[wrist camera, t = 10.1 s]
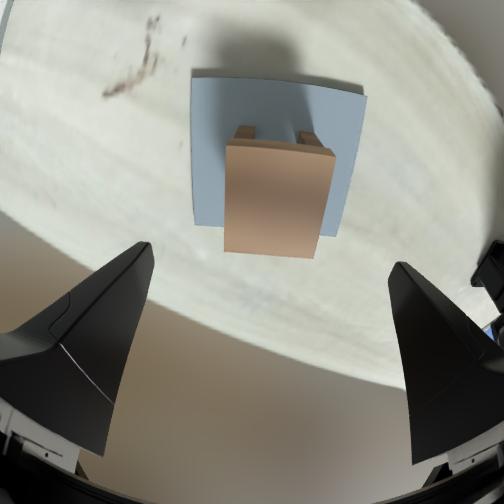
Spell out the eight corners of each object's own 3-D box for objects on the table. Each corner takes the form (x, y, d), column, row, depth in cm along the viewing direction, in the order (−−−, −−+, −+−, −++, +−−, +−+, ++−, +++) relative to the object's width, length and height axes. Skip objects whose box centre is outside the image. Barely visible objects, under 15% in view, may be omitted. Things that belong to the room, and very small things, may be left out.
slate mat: (364, 95, 14) (367, 96, 14) (334, 232, 21) (336, 236, 21) (194, 77, 14) (191, 78, 14) (196, 221, 21) (194, 225, 21)
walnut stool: (303, 210, 20) (313, 258, 15) (234, 204, 20) (224, 251, 15) (316, 130, 16) (336, 156, 12) (237, 122, 16) (226, 145, 11)
